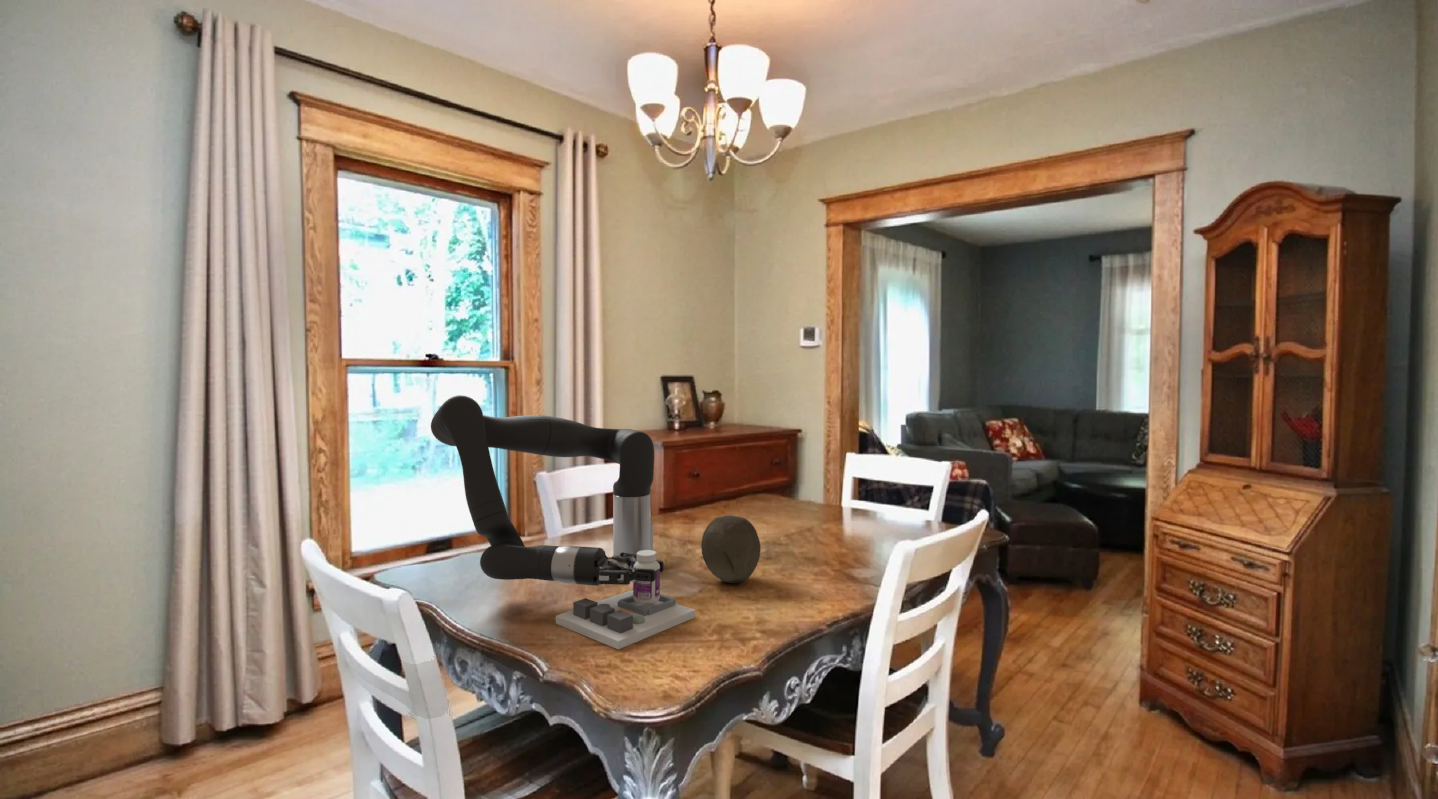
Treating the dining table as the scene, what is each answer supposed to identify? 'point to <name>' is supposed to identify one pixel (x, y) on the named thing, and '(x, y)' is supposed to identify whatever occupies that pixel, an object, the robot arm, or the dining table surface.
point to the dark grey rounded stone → (731, 548)
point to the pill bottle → (645, 589)
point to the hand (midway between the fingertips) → (658, 571)
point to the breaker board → (638, 628)
